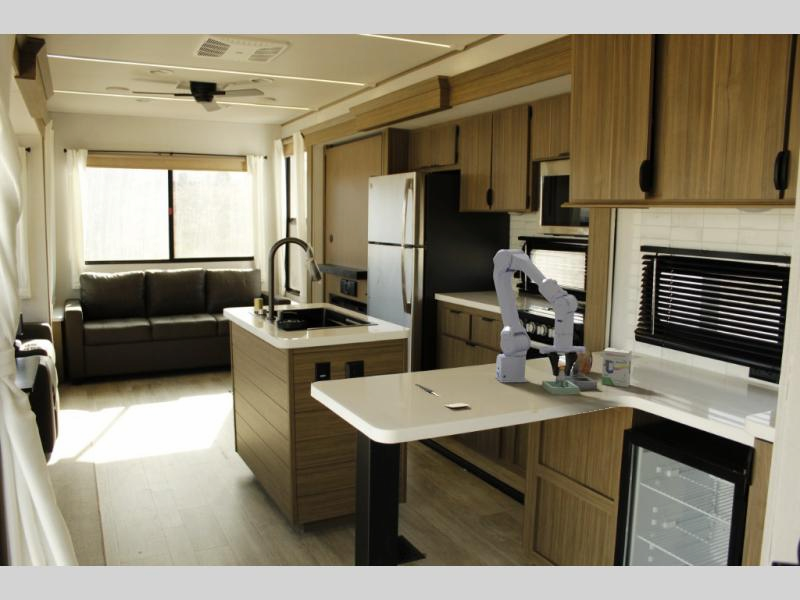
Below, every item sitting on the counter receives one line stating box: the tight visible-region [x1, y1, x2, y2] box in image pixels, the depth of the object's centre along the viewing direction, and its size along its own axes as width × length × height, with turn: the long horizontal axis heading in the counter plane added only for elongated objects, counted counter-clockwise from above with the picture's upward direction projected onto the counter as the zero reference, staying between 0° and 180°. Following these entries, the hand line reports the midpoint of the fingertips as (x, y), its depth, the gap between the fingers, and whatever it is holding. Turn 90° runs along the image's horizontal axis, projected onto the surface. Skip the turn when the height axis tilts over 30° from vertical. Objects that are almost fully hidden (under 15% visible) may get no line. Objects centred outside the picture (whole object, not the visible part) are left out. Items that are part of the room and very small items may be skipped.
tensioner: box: [565, 362, 598, 391], centre depth 226 cm, size 7×13×7 cm, turn 8°
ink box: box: [601, 347, 633, 388], centre depth 228 cm, size 9×5×12 cm, turn 62°
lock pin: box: [555, 364, 566, 387], centre depth 218 cm, size 3×3×8 cm
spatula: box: [415, 383, 471, 408], centre depth 208 cm, size 6×29×2 cm, turn 25°
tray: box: [541, 380, 581, 395], centre depth 218 cm, size 9×9×2 cm
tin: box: [575, 349, 594, 375], centre depth 242 cm, size 15×3×8 cm, turn 143°
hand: (561, 375), depth 218 cm, fingers open, 3 cm apart
